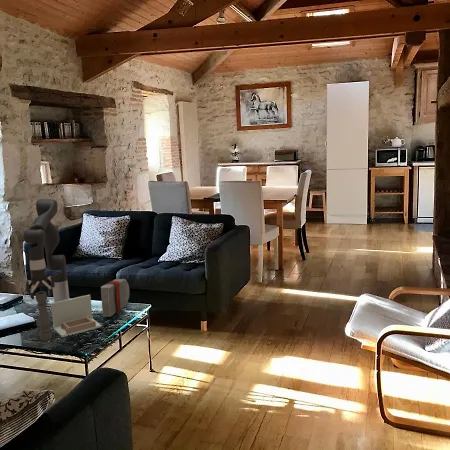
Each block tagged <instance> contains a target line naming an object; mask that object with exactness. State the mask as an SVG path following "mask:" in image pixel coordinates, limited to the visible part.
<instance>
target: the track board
mask: <svg viewBox="0 0 450 450" xmlns="http://www.w3.org/2000/svg"><path fill="white" fill-rule="evenodd" d="M50 308H51V315H52V325H53V330H54V331H56V333H57V334H58V335H59V336H60V337H61V338H65V337H69V336H72V334H73V335H76V334H80V333H85V332H87V331H92V330H95V329H99V328H102V324H100V323H99V322H98V321H96V320H95V319H94V318H93V309H92V308H93V307H92V297H91V294H87V295H81V296H77V297H73V298H69V299H68V300H63V301H59V302H54V301H53V302H51V303H50ZM68 335H69V336H68Z"/></svg>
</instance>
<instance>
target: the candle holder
mask: <svg viewBox="0 0 450 450" xmlns="http://www.w3.org/2000/svg"><path fill="white" fill-rule="evenodd" d="M34 298H35V301H36V302H37V305H36V306H37V308H38V320H37V323H38V325H39V327H40V328H39V340H40V341H48V340H51V339H52V338H53V333H52V330H51V329H52V328H51V327H50V324H51V319H50V315H49V313H48V309H47V306H48V303H47V300H48V291H38V292H36V293H35V294H34Z"/></svg>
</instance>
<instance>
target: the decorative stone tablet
mask: <svg viewBox="0 0 450 450" xmlns="http://www.w3.org/2000/svg"><path fill="white" fill-rule="evenodd" d="M100 294H101V312H102V317H105V318H111V317H112V316H114V314H115V316H116V315H118V314H119V313H120V312H121V311H122V310H123V309H124V308H125V307H126V306H127V304H128V301H129V298H130V287H129V283H128V281H127V280H126V278H116V279H113V280H111V281H109V282H107V283H106V284H104V285H101V286H100Z"/></svg>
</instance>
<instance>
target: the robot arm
mask: <svg viewBox="0 0 450 450" xmlns="http://www.w3.org/2000/svg"><path fill="white" fill-rule="evenodd" d="M35 208H36V214H37V217H35V219H33V222H32V224H31V225H30V226H28V228H26V229H25V231H24V232H23V235H22V239H23V241H24V243H26V244H29V245H32V244H37V246H34V247H31V248H30V249H28V255H29V256H28V257H29V268H30V269H29V270H30V276H31V279H30V280H27V279H26V280H25V281H24V284H25V285H24V286H25V287H24V288H25V292H26V293H27V294H29V296H30V299H31V300H32V301H33V300H35V294H34V291H35V290H36V289H37V288H41V287H46V288H47V296H48V297H51V296H53V297H52V298H53V303H54V302H59V301H63V300H68V299H70V294H69V293H70V292H69V291H70V290H69V284H68V283H69V282H68V275H67V259H66V256H65V255H64V254H57V255H53V253H54V251H55V249H56V248H57V247H58V245H59V243H60V233H59V230H58V228H57V226H55V224H54V223H52V220H53V219H54V217H55V216H56V214H57V213H58V208H59V207H58V202H57V200H56V199H52V198H47V199H45V198H40V199H37V200H36V203H35ZM44 248H45V249H44ZM44 251H45V253H44ZM45 255H46V256H45ZM45 257H46V261H45ZM46 264H47V265H46ZM46 266H47V267H46ZM47 268H48V270H49V271H59V272H58V273H56V274H54V275H49V276H47ZM48 280H49V281H50V285H49V283H48ZM31 284H32V285H31ZM30 285H31V288H30Z"/></svg>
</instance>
